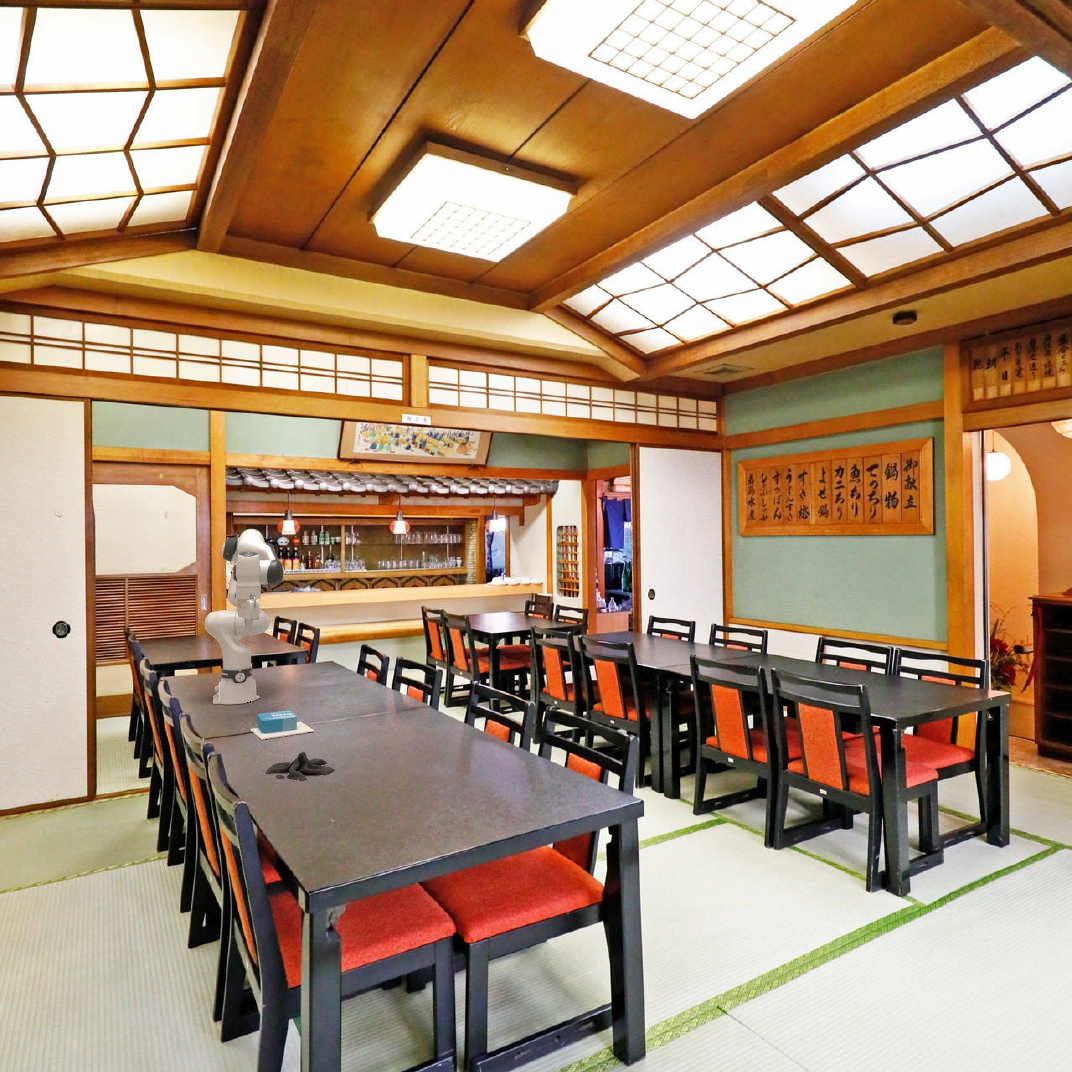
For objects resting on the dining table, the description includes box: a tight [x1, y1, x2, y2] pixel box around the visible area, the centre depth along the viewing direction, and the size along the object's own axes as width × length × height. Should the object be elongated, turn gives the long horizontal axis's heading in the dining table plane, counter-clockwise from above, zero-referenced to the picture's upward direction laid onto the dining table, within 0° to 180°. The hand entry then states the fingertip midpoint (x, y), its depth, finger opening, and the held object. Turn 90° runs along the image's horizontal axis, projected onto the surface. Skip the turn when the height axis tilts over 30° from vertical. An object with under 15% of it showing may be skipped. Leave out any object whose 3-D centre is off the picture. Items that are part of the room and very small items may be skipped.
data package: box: [256, 710, 298, 733], centre depth 251 cm, size 12×4×12 cm
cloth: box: [265, 751, 336, 782], centre depth 203 cm, size 22×19×6 cm
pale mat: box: [249, 721, 315, 741], centre depth 248 cm, size 16×18×1 cm
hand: (248, 630), depth 266 cm, fingers closed
